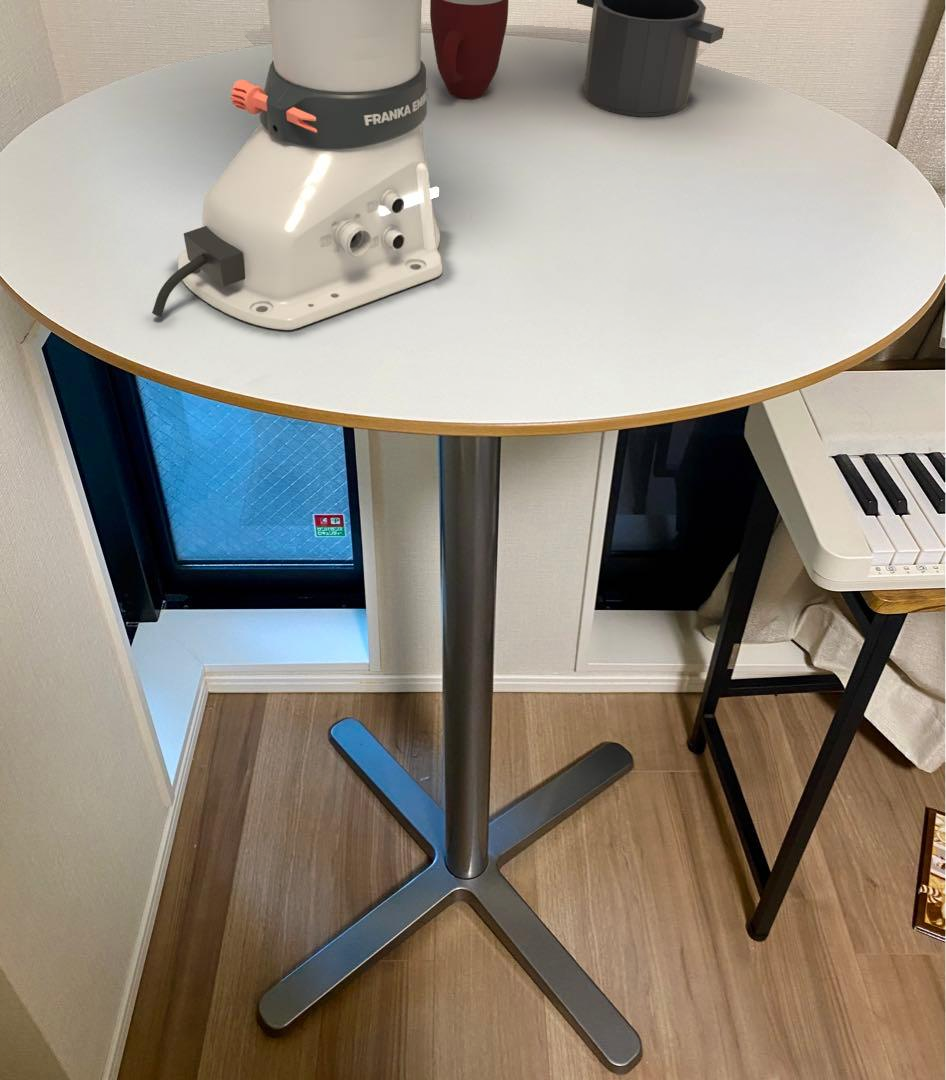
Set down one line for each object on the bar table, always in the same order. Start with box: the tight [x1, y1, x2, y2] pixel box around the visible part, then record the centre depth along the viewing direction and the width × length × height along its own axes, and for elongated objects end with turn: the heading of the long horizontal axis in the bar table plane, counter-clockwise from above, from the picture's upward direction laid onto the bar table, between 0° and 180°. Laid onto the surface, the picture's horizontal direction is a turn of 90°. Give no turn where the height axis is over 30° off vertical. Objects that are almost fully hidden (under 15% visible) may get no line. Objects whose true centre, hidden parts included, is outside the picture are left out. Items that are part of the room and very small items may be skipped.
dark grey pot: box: [576, 0, 725, 118], centre depth 106 cm, size 11×17×9 cm
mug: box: [429, 0, 509, 100], centre depth 104 cm, size 11×8×10 cm
